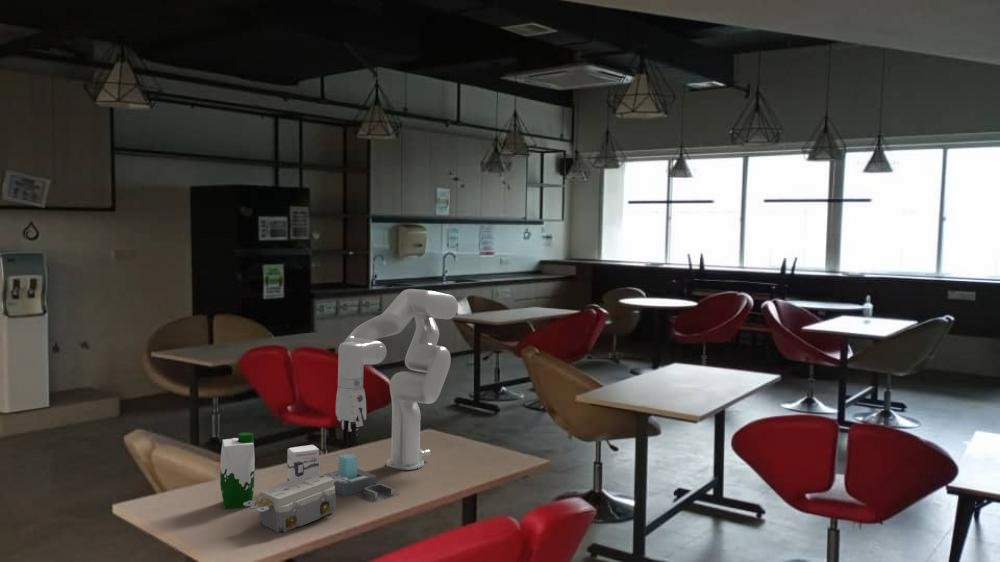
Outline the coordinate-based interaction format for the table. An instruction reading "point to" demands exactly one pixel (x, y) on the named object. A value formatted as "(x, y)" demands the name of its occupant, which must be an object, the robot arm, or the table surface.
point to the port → (355, 483)
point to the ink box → (302, 461)
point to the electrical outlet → (297, 501)
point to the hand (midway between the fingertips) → (349, 442)
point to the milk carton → (237, 470)
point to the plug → (348, 466)
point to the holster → (377, 493)
